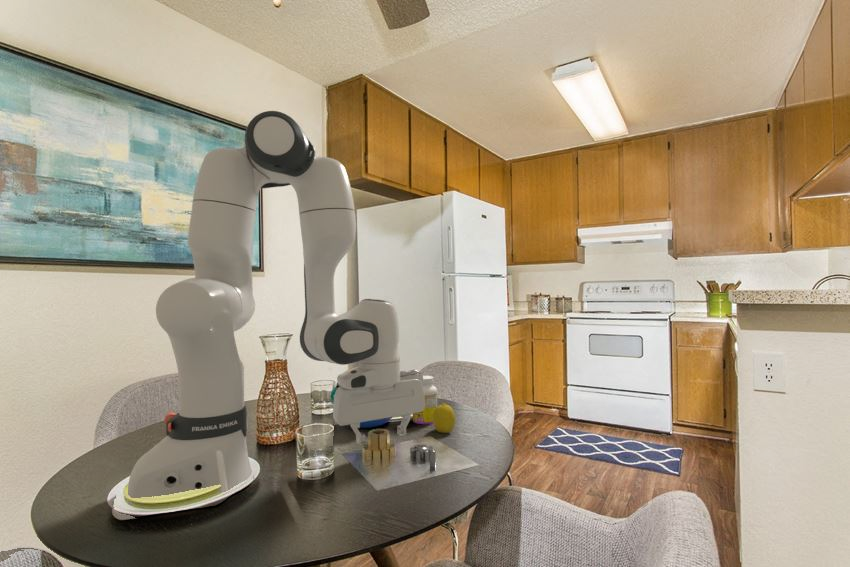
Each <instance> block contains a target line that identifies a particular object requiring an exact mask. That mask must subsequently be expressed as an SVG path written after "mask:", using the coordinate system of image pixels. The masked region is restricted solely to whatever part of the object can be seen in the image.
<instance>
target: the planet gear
mask: <svg viewBox="0 0 850 567" xmlns="http://www.w3.org/2000/svg"><path fill="white" fill-rule="evenodd" d="M390 433H391V432H390V430H388V429H386V428H376V429H375V428H374V429H371V430H369V431H368V432H367V441H365V443H362V446H361V450H362V456H363V457H365V458H367V459H371V460H372V459H373V460H381V459H382V460H383V459H388V458H391V457H392V456H394V455H395V452H396V447H395V443H396V442H394V441H392V440H391V439H390V437H391V436H390Z"/></svg>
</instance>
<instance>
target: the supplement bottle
mask: <svg viewBox="0 0 850 567" xmlns="http://www.w3.org/2000/svg"><path fill="white" fill-rule="evenodd" d="M433 384H434V376H433V375H423V391H424V397H425V408H424V410H423V411H422V412H417V413H412V422H413V423H415V424H419V425H433V426H434V423H433V415H434V411H435V409H436V408H437V407H438V388H437V387H436V386H434V385H433Z"/></svg>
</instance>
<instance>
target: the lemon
mask: <svg viewBox="0 0 850 567" xmlns="http://www.w3.org/2000/svg"><path fill="white" fill-rule="evenodd" d="M433 423H434V425H433V426H434V428H435V430H436V431H437V432H438V433H441V434H447V433H451V432H452V430H454V428H455V426H456V416H455V412H454V409H453V408H452V407H451V406H450V405H448V404H446V403H445V402H443V403H442V404H440V405H437V408H436V409H435V411H434V415H433Z"/></svg>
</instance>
